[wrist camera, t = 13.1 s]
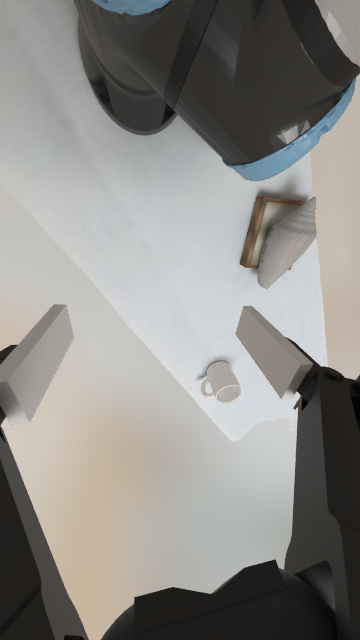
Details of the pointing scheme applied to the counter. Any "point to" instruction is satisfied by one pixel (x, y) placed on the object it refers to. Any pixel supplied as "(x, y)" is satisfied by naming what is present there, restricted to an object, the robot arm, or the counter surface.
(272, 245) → the seashell
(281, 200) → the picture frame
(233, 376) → the mug
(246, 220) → the counter surface
